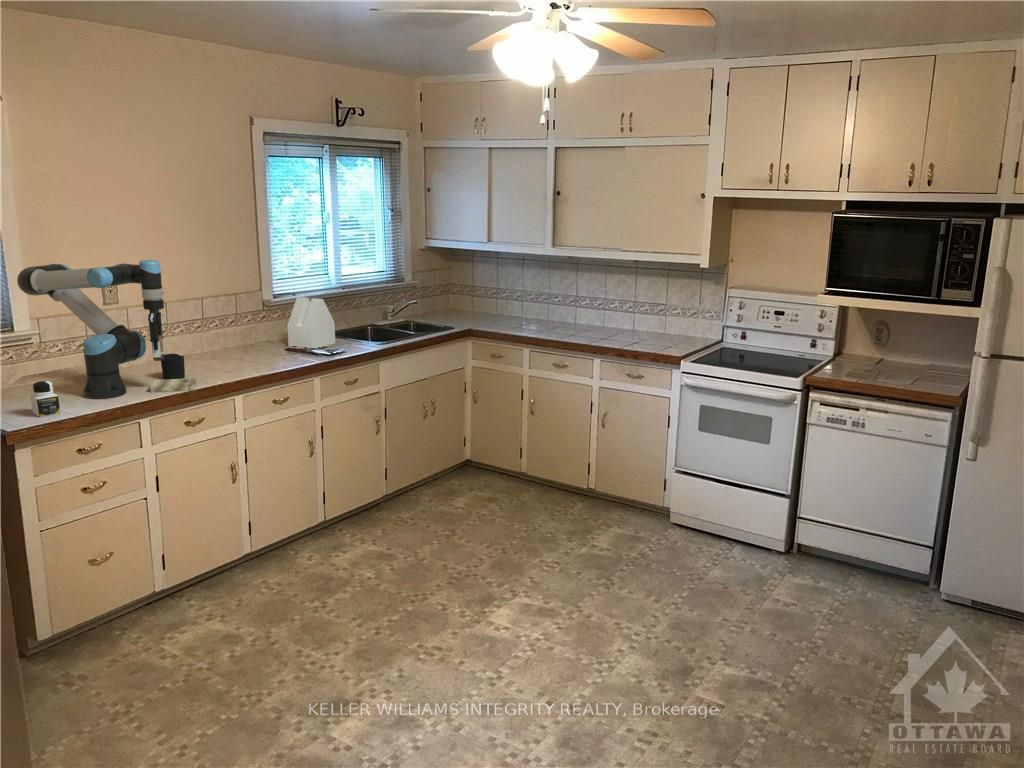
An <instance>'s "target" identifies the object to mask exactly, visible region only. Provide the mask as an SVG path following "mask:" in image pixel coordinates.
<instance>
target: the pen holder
mask: <svg viewBox="0 0 1024 768" xmlns="http://www.w3.org/2000/svg"><path fill="white" fill-rule="evenodd" d="M160 364H161V370H162V371H161V373H162V379H163V380H166V379H182V378H183V379H185V377H186V372H185V370H186V369H185V355H181V354H179V353H166V354H164V360H162V361H160Z"/></svg>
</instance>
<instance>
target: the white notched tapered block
mask: <svg viewBox="0 0 1024 768" xmlns="http://www.w3.org/2000/svg"><path fill="white" fill-rule="evenodd" d="M286 327H287V342H288V347H289V346H298V347H307V348H316V349H319V348H318V347H320V348H323V346H324V347H326V346H331V345H333V344H336V328H335V321H334V319H333V316H332V314H331V312H330V310H329V309H328V306H327V304H326V302H325V299H323V298H315V297H314V298H311V300H310V299H309V297H306V296H305V297H304V296H297V297H296V299H295V302H294V304H293V309H292V311H291V313H290V316H289V320H288V322H287V326H286Z"/></svg>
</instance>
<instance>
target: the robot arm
mask: <svg viewBox="0 0 1024 768" xmlns="http://www.w3.org/2000/svg"><path fill="white" fill-rule="evenodd" d="M138 263H139V264H134V263H132V264H131V263H125V262H124V263H117V264H115V265H112V266H104V267H91V268H90V267H89V268H87V267H86V268H75V269H74V268H73V269H72V267H70V266H68V265H66V264H62V263H50V264H47V265H46V264H45V265H37V266H29V267H26V268H24V269H22V270H21V271H20V272H19V274H18V275H17V279H16V283H17V286H18V289H20V290H21V291H22V292H23V293H24V294H26V295H29V296H43V295H48V296H49V297H50V298H51V299H52V300H53V301H54V302H61V303H62V304H63V305H64V307H65V306H66V308H67V310H68V309H69V311H71V312H72V313H73V314H74V315H75V316H76V317H77V318H78V319H79V320H80V322H81V321H82V323H83V324H85V326H87V327H88V328H89V329H90V330H91V331H92V332H93V333H94V334H95V335H92V336H89V337H87V338H86V339H84V340H83V344H82V345H83V349H82V352H83V357H84V364H85V365H84V366H85V371H86V381H85V385H84V388H83V395H84V397H85V398H86V399H95V400H98V399H99V400H100V399H110V398H116V397H117V398H118V397H119V396H123V395H125V394H126V393H127V386H126V384H125V382H124V380H123V378H122V376H121V373H120V365H122V364H125V363H128V362H129V363H130V362H131V361H132V362H133V361H137V360H138V359H141V358H142V357H143V356H144V355H145V353H146V350H147V344H146V343H147V342H146V339H145V337H144V335H143V334H142V333H140V332H139V331H137V330H136V331H135V330H129V329H128V328H127V327H126V326H125V325H124V324H118V323H116V322H115V321H114V320H113V319H112V318H111V317H110V316H109V315H108V314H106V313H105V311H104V310H102V309H101V308H100V307H99V306H98V305H97V304H96V303H95V302H94V301H93V300H91V299H90V297H88V296H87V295H86V294H85V293H84V292H83V291H82V290H81V289H93V288H96V289H106V288H108V287H109V288H110V287H115V286H121V285H126V284H127V285H128V284H139V285H140V286H141V296H142V297H141V298H142V299H143V300H142V304H143V305H142V306H143V309H144V310H145V311H146V310H147V311H148V310H149V313H148V314H147V315H148V317H147V320H148V327H149V336H150V340H149V342H150V343H151V348H152V347H153V350H152V352H153V353H152V358H153V357H161V351H160V341H159V336H158V335H162V339H165V337H164V336H163V335H164V334H163V324H162V312H160V310H162V309H164V308H165V304H164V303H165V302H164V299H163V298H164V293H165V291H164V290H163V285H162V284H163V282H162V270H161V263H160V261H159V260H156V259H142V260H139V262H138Z"/></svg>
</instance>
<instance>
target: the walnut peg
mask: <svg viewBox="0 0 1024 768" xmlns="http://www.w3.org/2000/svg"><path fill="white" fill-rule="evenodd" d="M158 336H159V341H160V351H161V357H153V356H152V358H153V361H155V362H161V361H162V360H164V355H165V354H164V353H165V351H164V342H163V338H162V335H158ZM151 348H152V349H151V350H152V354H153V347H152V346H151Z"/></svg>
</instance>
